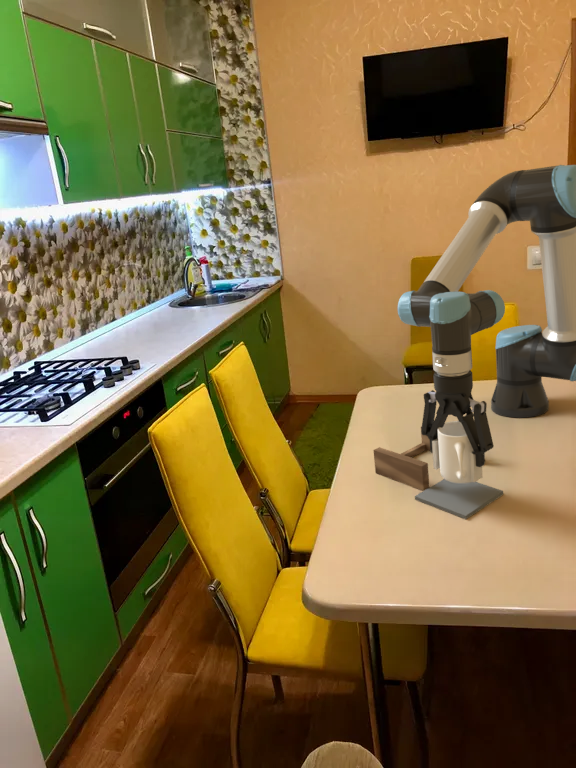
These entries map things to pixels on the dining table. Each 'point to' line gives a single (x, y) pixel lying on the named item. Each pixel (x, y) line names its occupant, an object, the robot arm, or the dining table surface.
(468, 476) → the mug
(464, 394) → the robot arm
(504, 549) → the dining table surface
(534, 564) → the dining table surface
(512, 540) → the dining table surface
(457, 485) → the coaster
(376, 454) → the frame
